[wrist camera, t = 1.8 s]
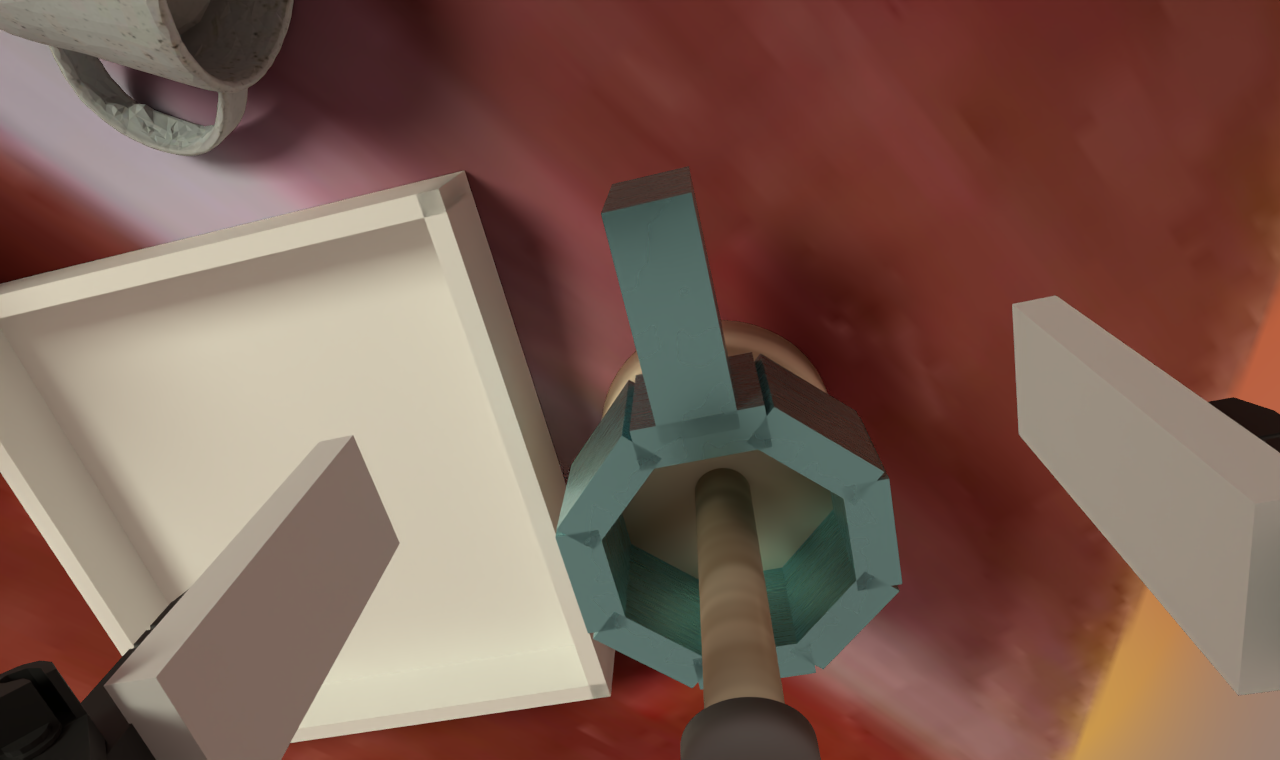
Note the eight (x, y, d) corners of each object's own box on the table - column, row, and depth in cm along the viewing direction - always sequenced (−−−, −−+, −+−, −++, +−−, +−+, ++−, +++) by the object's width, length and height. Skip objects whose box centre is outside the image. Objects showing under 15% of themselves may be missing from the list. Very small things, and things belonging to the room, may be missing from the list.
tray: (-23, 289, 32) (-101, 319, 28) (464, 170, 29) (438, 188, 26) (227, 700, 41) (189, 757, 38) (615, 639, 38) (610, 696, 35)
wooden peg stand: (576, 346, 32) (480, 663, 16) (813, 297, 30) (960, 588, 15) (632, 537, 35) (599, 944, 20) (844, 501, 34) (988, 904, 19)
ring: (882, 581, 30) (911, 659, 26) (618, 622, 31) (611, 702, 27) (821, 134, 23) (848, 156, 19) (488, 213, 24) (456, 246, 21)
